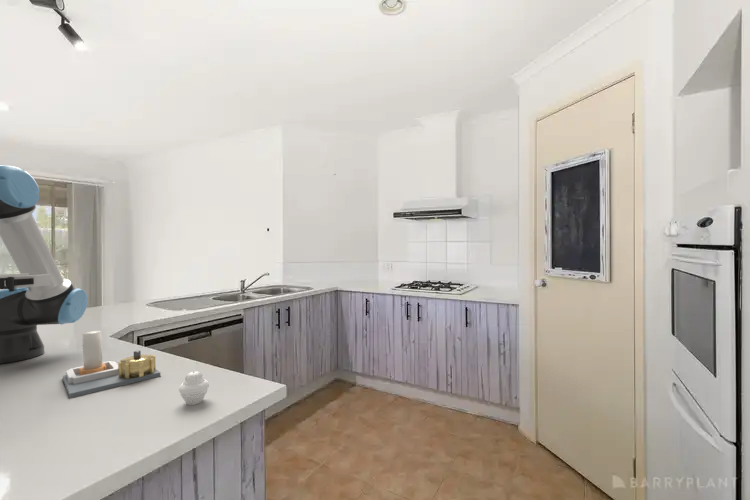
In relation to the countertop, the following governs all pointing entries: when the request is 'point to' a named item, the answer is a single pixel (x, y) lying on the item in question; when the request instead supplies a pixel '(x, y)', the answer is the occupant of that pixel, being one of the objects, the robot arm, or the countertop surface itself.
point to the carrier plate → (98, 379)
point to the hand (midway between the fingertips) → (39, 279)
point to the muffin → (194, 388)
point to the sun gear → (136, 365)
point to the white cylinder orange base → (92, 353)
